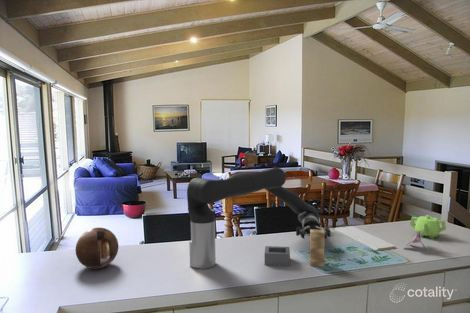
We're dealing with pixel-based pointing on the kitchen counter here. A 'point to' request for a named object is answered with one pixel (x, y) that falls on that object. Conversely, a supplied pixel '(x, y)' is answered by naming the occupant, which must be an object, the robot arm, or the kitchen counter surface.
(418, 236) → the lily
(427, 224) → the teapot
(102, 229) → the wooden sphere
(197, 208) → the robot arm
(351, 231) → the baseboard molding
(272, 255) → the endcap
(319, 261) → the tan tall cylinder
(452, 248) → the kitchen counter surface
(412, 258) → the kitchen counter surface
